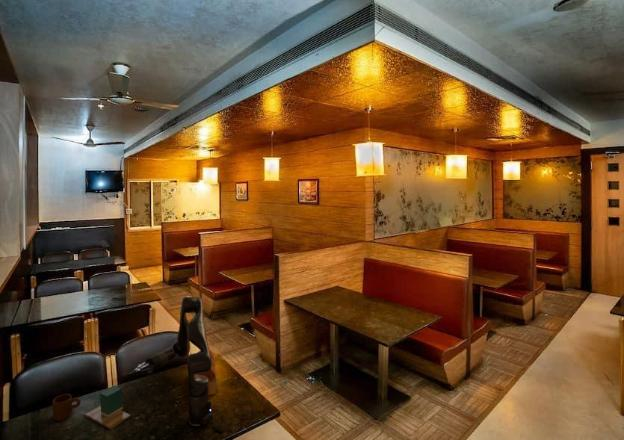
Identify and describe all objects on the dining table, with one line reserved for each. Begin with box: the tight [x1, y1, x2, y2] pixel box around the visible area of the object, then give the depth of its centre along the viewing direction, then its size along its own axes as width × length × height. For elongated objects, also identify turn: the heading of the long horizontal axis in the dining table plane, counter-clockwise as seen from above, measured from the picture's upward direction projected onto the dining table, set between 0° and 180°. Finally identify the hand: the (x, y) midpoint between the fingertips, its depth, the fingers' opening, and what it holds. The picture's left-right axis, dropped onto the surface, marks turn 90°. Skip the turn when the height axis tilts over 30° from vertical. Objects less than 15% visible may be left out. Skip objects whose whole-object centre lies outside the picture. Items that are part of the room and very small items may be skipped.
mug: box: [52, 393, 82, 422], centre depth 169 cm, size 12×8×9 cm, turn 97°
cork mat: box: [84, 405, 132, 430], centre depth 169 cm, size 20×10×1 cm, turn 63°
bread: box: [196, 350, 218, 396], centre depth 197 cm, size 25×12×15 cm, turn 18°
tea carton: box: [99, 385, 124, 418], centre depth 171 cm, size 6×11×8 cm
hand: (128, 376), depth 178 cm, fingers closed
